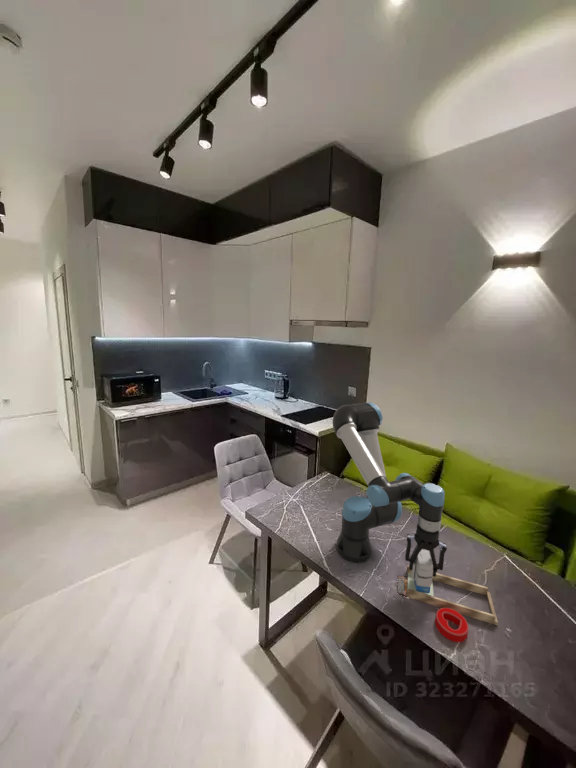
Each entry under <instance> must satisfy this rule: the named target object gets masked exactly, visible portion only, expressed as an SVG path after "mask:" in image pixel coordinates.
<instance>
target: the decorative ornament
mask: <svg viewBox="0 0 576 768" xmlns="http://www.w3.org/2000/svg"><path fill="white" fill-rule="evenodd" d="M435 613H436V614H435V619H434V620H435V621H434V624H435V627H436V629H437V631H438V632H439V634H441V635H442V636H443V637H444V638H445V639H448V640H449V641H451V642H454V643H462V642H464V641H466V640H467V638H468V635H469V623H468V621H467V620H466V618H465V617H464V615H463V614H460V613H458V612H457V611H455V610H453V609H450V608H441V607H440V608H439V609H437V611H436V612H435ZM449 622H451V623H453V624H455V625H456V626H458V628H457V629H453V628H452V627H450V626H449Z"/></svg>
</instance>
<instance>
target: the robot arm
mask: <svg viewBox="0 0 576 768" xmlns="http://www.w3.org/2000/svg"><path fill="white" fill-rule="evenodd" d="M382 423H383V414H382V411H381V408H380V407H379V406H378V405H376V404H375V403H373V402H360V403H359V402H358V403H351V404H343V405H341V406H339V407H338V408H337V409H336V410H335V412H334V413H333V417H332V429H333V431H334V433H335V435H336V437H337V438H338V439H341V441H342V442H343V444H344V446H345V447H346V450H347V451H348V453H349V455H350V457H351V458H352V460H353V462H354V464H355V465H356V467H357V469H358V470H359V471H358V472H360V474H361V476H362V478H363V480H364V482H365V483H366V485H367V486H368V487H367V488H366V497H365V496H363V495H361V496H360V495H353V496H350V497H348V498H347V499H345V501H344V502H343V505H342V510H341V514H342V515H341V531H340V533H339V536H338V538H337V540H336V546H335V547H336V550H337V551H338V552H337V551H336V552H337V554H338V555H339V554H340V555H341V556H342V558H343V559H344V560H346V561H348V562H351V561H352V562H351V563H364V562H367V561H368V560H369V559H370V558H371V556H372V553H373V552H372V550H373V549H372V548H373V546H372V543H371V539H370V536H369V535H370V534H369V533H370V529H371V530H372V529H375V528H378V527H382V526H386V525H391V524H394V523H397V522H398V521H399V520H400V519H401V517H402V514H403V507H402V506H403V505H402V502H403V501H407V500H411V501H412V502H413V503H415V504H416V505H418V507H419V509H418V516H417V522H416V529H415V530H416V532H415V534H414V535H411V534H410V533H408V534H406V542H407V544H406V550H405V553H404V555H405V556H404V557H405V558H404V560H405V561H406V562H409V564H408V565H409V569H410V570H412V573H411V579H413V580H414V572H415V560H416V558H417V556H418V554H419V552H420V551H421V550H428V551H429V554H430V557H431V561H432V565H433V572H432V577H433V576H434V577H435V576H436V573H438V570H439V571H443V569H444V561H445V553H446V551H447V549H448V547H447V544H446V542H441V541H440V540H439V538H440V532H441V531H440V529H441V525H442V516H443V510H444V505H445V497H446V495H445V490H444V488H442V487H441V486H440V485H436V484H435V483H433V482H431V483H430V482H426V483H423V482H421V481H420V480H419V479H417V478H416V477H415V476H413V475H411V474H409V473H408V472H402V473H400V474H399V475H397V476H396V478H395V480H391V481H389V480H388V479H387V476H386V470H385V465H384V460H383V456H382V452H381V446H380V442H379V441H380V440H379V437H378V432H379V431H380V426H381V425H382ZM414 541H415V543H416V546H415V548H414V550H413V552H412V553H411V548H412V543H413V542H414ZM437 547H439V557H438V563H437V559H436V558H437V557H436V555H435V549H436V548H437ZM410 554H411V555H410ZM340 555H339V556H340ZM341 556H340V557H341ZM431 584H432V579H431Z"/></svg>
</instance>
